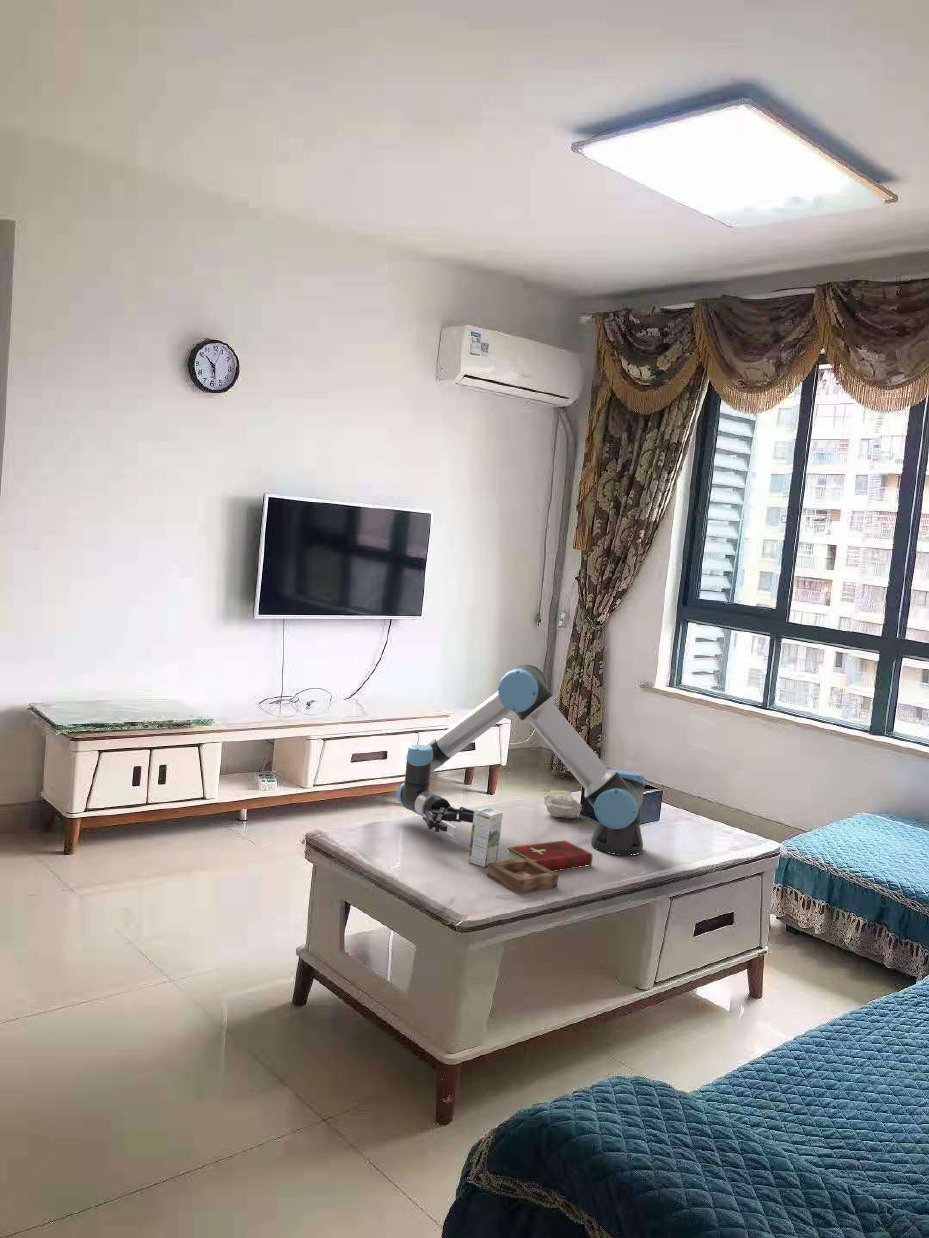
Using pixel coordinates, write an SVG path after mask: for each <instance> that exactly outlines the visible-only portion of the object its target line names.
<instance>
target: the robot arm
mask: <svg viewBox="0 0 929 1238" xmlns="http://www.w3.org/2000/svg"><path fill="white" fill-rule="evenodd" d="M547 687H548V684H547V678H546V675H545V674H544V672H543V671H542V670H541V669H540V668H538V667H537V666H536V665H532V664H521V665H520V666H517V667H516V668H512V669H510V670H509V671H508V672H506V673H505V674H504V675H503V676H502V678H501V679H500V681H499V683H498V687H497V691H495V693H494V694H492V695H491V696H489V697H488V698H487V699H486V700H484V701H483V702H482V703H481V704H479V705H478V706H477V707H475V708H474V709H472V710H471V711H470V712H469V713H467V714H466V715H465V716H463V717H462V718H461V719H460V720H458V721H457V722H455V723H454V724H453V725H451V726H450V727H449V728H447V730H445V731H444V732H443V733H441V734H440V735H438V736H437V737H436V738H435V739H433V740H432V741H431V742H429V743H428V744H427V745H425V744H412V745H410V746H409V747H408V749H407V754H406V762H405V763H406V765H405V773H404V774H405V776H404V782H403V783H402V784H400V785H399V786H398V789H397V791H396V799H397V802H398V803H399V804H400V805H401V806H402V807H404V808H405V809H407V810H408V811H412V812H413V813H415V814H417V815H419V816H421V817H422V820H424V821H425V823H426V826H427V829H428V830H433V829H434V832H435V833H439V832H440V831H441V832H442V833H445V834H446V835H448V836H450V837H451V838H456V837H457V836H456V835H457V828H458V827H457V826H454V825H453V824H451V822H454V823H461V822H465V823H469V824H473V817H474V811H475V810H472V809H469V808H466V807H463V806H460V807H459V808H455V807H453V806H451V804H450V802H449V801H448V800H447V799H446V798H443V797H441V796H439V794H437V793H434V792H432V791H430V784H431V775H432V773H433V772H435V770H436V769H439V768H440V767H441V766H443V765H444V764H445V763H446V762H448V761H449V760H450V759H451V758H453V757H454V756H456V754H458V753H459V752H461V751H462V750H463V749H465V748H466V747H467V746H469V745H470V744H472V742H474V741H475V740H477V739H479V737H481V736H482V735H483V734H485V733H486V732H487V731H489V730H490V729H492V728H493V727H494V726H495V725H497V724H498V723H499V722H501V721H502V720H504V719H505V718H506V717H508V716H509V715H510V714H512V713H514V714H515V715H516V716H517V717H518V718H519V720H520V721H521V722H522V723H529V724H530V725H531V726H532V727H533V728H534V729H535V730H536V732H537V733H538V734H539V735H540V737H541V738H542V739H543V740H544V741H545V742H546V744H547V745H548V746H549V748H550V749H551V750H552V751H553V753H554V754H555V755H556V756H557V757H558V759H560V761H561V762H562V763H563V765H564V766H565V767H566V768H567V770H569V772H570V773H571V774H572V775H573V776H574V778H575V779H576V781H578V782H579V784H580V785H581V787H582V788H583V789H584V798H585V799H586V800H587V801H588V803H589V804H590V806H591V807H592V808H593V811H594V814H595V817H596V819H597V821H598V823H597V824H596V827H595V829H594V831H593V833H592V836H591V841H590V844H591V846H592V847H593V846H594V847H595V848H594V847H593V848H594V849H596V848H597V849H596V850H598V849H599V850H598V851H600V850H601V851H600V852H602V851H604V852H603V853H606V852H610V853H615V854H620V855H619V856H622V855H631V854H632V855H633V854H637V853H640V852H642V853H643V850H644V849H643V847H644V841H643V837H642V832H641V824H640V823H641V817H642V808H643V800H644V792H645V787H646V778H645V776H644V774H641V773H639V772H634V771H629V770H628V771H627V770H621V769H609V768H608V767H607V766H606V765H605V764H604V762H602V760H601V759H600V758H599V757H598V756H597V754H596V753H595V752H594V751H593V749H592V748H590V747H591V746H589V745H588V744H587V742H586V741H585V740H584V739H583V738H582V736H581V735H580V734H579V733H578V731H577V730H576V729H575V728H574V727H573V726H572V725H571V723H570V722H569V721H568V720H567V719H566V718H565V716H564V714H562V712H561V711H560V710H559V709H558V708H557V706H556V705H555V704H554V698H555V696H554V695H553V694H552V692H551V691H550V690H549V688H547ZM449 822H450V823H449Z"/></svg>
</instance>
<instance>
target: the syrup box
mask: <svg viewBox="0 0 929 1238" xmlns="http://www.w3.org/2000/svg"><path fill="white" fill-rule="evenodd" d="M473 811H474V817H473V823H472V827H471V834H470V840H469V841H470V843H469V851H468V859H467V861H468V863H471V864H474V865H476V866H480V867H483V868H488V863H494V862H498V861H497V860H498V853H499V852H498V851H499V846H500V845H499V844H500V840H501V839H500V836H501V831H502V830H501V829H502V822H503V812H502V811H500V810H498V809H495V808H491V807H486V806H485V807H483V808H480V809H476V810H473Z"/></svg>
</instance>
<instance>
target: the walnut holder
mask: <svg viewBox="0 0 929 1238" xmlns="http://www.w3.org/2000/svg"><path fill="white" fill-rule="evenodd" d="M486 872H487V873H486V876H487V878H489V879H491V880H492V881H495V882H496V883H497V884H500V885H501V886H503V887H504V888H506V889H507V890H510V891H511V892H513V893H515V894H517V895H520V894H527V893H532V891H533V892H538V891H537V890H540V891H542V890H541V889H546V890H549V889H557V888H558V884H559V883H558V882H559V876H560V875H559V873H557V872H556V871H551V870H549V869H547V868H545V867H543V866H541V865H540V864H538V863H536V862H534V861H532V860H530V859H528V858H524V859H516V860H503V861H497V862H494V863H488V866H487V871H486ZM556 887H557V888H556Z"/></svg>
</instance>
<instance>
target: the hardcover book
mask: <svg viewBox="0 0 929 1238" xmlns="http://www.w3.org/2000/svg"><path fill="white" fill-rule="evenodd" d="M506 849H507V850H508V851H507V852H508V853H507V861H509V860H516V859H524V858H528V859H530V860H532V861H534V862H536V863H538V864H540V865H541V866H543V867H545V868H547V869H549V870H551V871H553V872H556V871H555V870H558V871H561V870H560V869H565V870H568V869H567V868H572V867H579V866H585V865H591V866H592V864H593V853H592V852H590V851H589V850H586V849H584V848H582V847H580V846H578V845H576V844H575V843H572V842H570V841H567V840H565V839H564V840H556V841H549V842H541V843H532V844H530V843H529V844H523V845H514V846H507V847H506ZM579 868H580V867H579ZM572 869H573V868H572Z"/></svg>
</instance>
